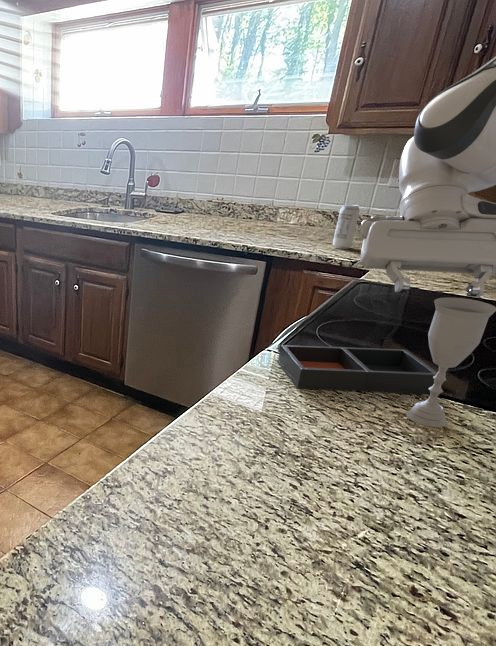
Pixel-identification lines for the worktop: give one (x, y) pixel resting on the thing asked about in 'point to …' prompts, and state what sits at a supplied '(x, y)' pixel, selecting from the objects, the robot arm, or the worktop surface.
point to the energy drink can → (346, 226)
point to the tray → (356, 369)
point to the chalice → (450, 348)
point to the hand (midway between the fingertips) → (438, 292)
